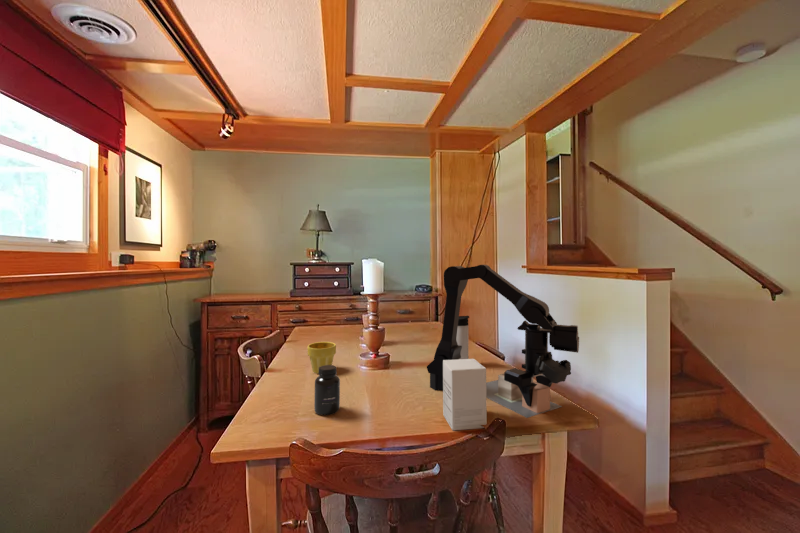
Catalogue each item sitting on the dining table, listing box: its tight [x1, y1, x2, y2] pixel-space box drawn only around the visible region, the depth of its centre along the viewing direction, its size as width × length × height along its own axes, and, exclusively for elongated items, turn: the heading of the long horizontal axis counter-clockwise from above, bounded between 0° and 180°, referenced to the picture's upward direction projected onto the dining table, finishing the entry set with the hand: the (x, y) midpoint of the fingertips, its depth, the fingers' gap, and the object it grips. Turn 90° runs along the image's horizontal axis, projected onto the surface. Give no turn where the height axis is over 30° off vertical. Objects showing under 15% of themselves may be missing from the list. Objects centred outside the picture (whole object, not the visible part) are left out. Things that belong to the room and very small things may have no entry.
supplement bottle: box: [313, 364, 341, 416], centre depth 93 cm, size 7×7×12 cm
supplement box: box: [442, 358, 488, 431], centre depth 87 cm, size 9×9×15 cm
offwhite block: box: [497, 373, 522, 401], centre depth 101 cm, size 5×5×6 cm
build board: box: [486, 379, 563, 419], centre depth 101 cm, size 14×24×1 cm, turn 29°
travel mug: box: [456, 315, 470, 359], centre depth 131 cm, size 6×7×20 cm
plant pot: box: [306, 341, 337, 374], centre depth 127 cm, size 10×10×10 cm
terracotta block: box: [522, 381, 551, 413], centre depth 93 cm, size 5×5×6 cm
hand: (535, 403), depth 93 cm, fingers closed on terracotta block, 5 cm apart
